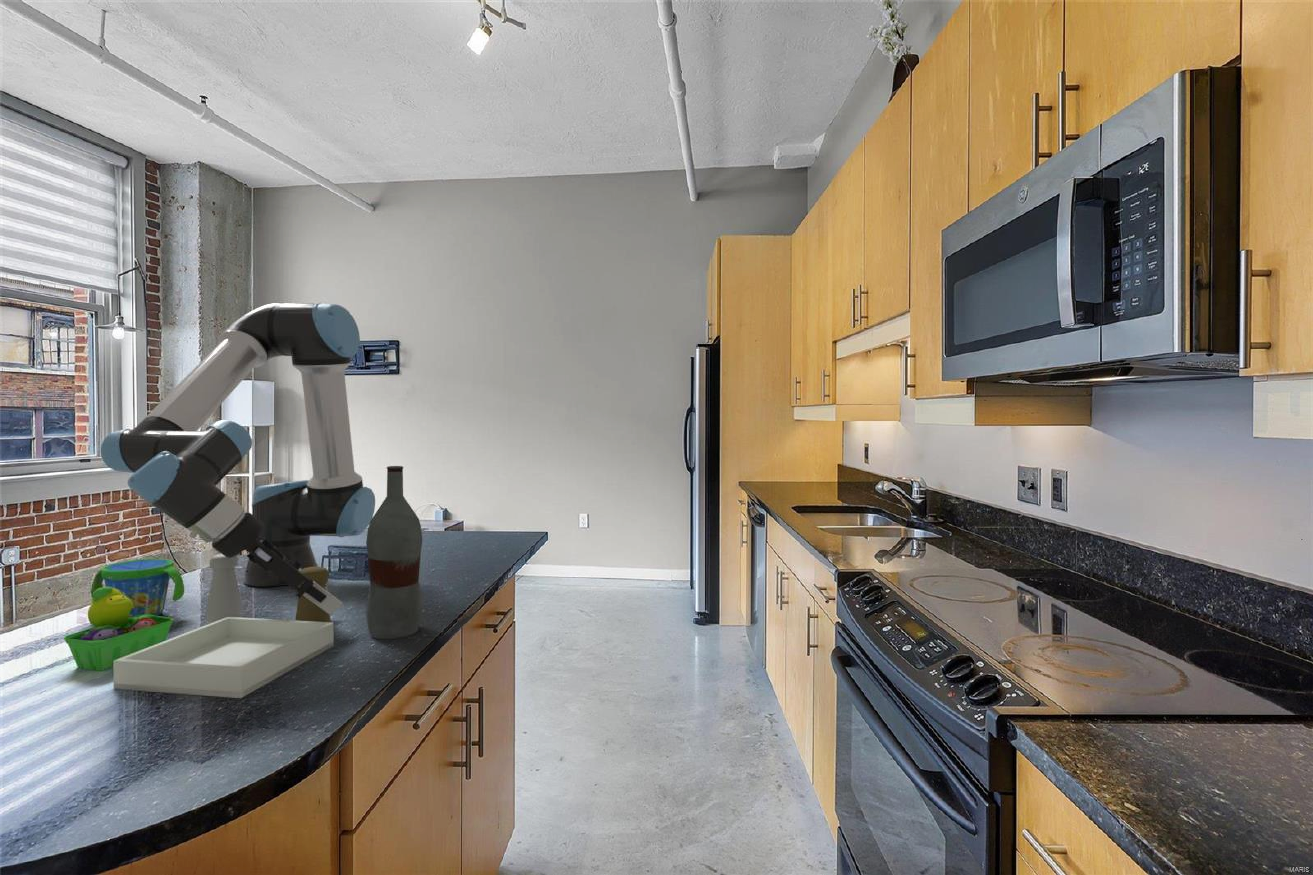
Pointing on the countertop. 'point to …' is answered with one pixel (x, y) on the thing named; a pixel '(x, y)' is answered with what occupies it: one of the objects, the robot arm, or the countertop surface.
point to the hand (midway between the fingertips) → (329, 601)
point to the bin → (224, 657)
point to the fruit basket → (114, 631)
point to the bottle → (394, 564)
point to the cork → (307, 607)
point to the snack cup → (142, 583)
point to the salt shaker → (223, 590)
